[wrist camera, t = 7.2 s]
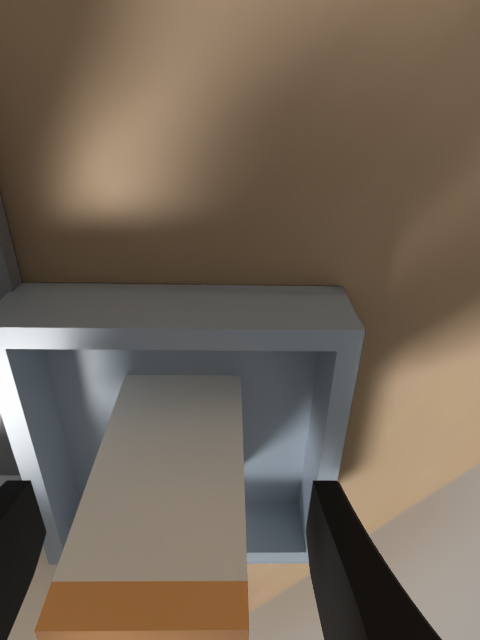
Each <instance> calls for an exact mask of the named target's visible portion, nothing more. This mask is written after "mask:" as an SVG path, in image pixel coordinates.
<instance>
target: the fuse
mask: <svg viewBox="0 0 480 640" xmlns="http://www.w3.org/2000/svg"><path fill="white" fill-rule="evenodd" d="M57 565H58V564H49V563H48V560H47V556H46V553H45V550H44V547H42V550H41V554H40V557H39V561H38V564H37V567H36V570H35V574H34V576H33V579H32V581H31V584H30V586H29V589H28V591H27V594H26V596H25V599H24V601H23V603H22V606H21V608H20V611H19V613H18V615H17V618H16V620H15V623H14V625H13V627H12V630H11V632H10V634H9V637H8V639H7V640H37V638H36V635H35V632H34V630H35V627H36V625H37V622H38V619H39V616H40V613H41V610H42V608H43V605H44V602H45V599H46V596H47V594H48V591H49V588H50V585H51V582H52V580H53V577H54V574H55V571H56V568H57Z"/></svg>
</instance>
